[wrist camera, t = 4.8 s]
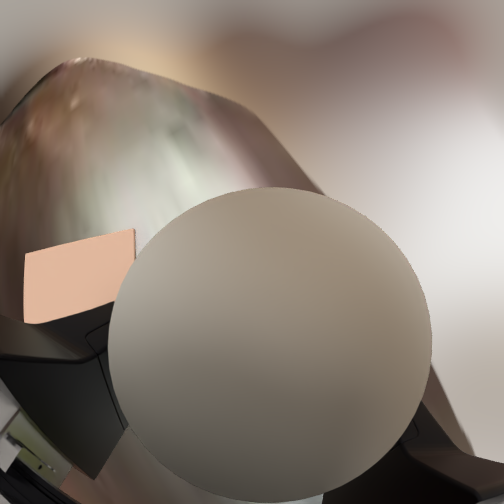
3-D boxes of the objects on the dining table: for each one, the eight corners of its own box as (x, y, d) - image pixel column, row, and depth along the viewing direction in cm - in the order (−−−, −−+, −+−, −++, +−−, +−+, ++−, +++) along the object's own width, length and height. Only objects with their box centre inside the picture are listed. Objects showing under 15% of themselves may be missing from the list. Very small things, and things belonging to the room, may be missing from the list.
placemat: (150, 392, 18) (149, 392, 18) (33, 386, 18) (31, 387, 18) (134, 229, 22) (133, 228, 22) (27, 254, 22) (25, 253, 22)
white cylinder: (254, 403, 14) (249, 542, 3) (198, 335, 15) (60, 313, 4) (324, 347, 15) (474, 350, 4) (267, 280, 16) (291, 138, 5)
